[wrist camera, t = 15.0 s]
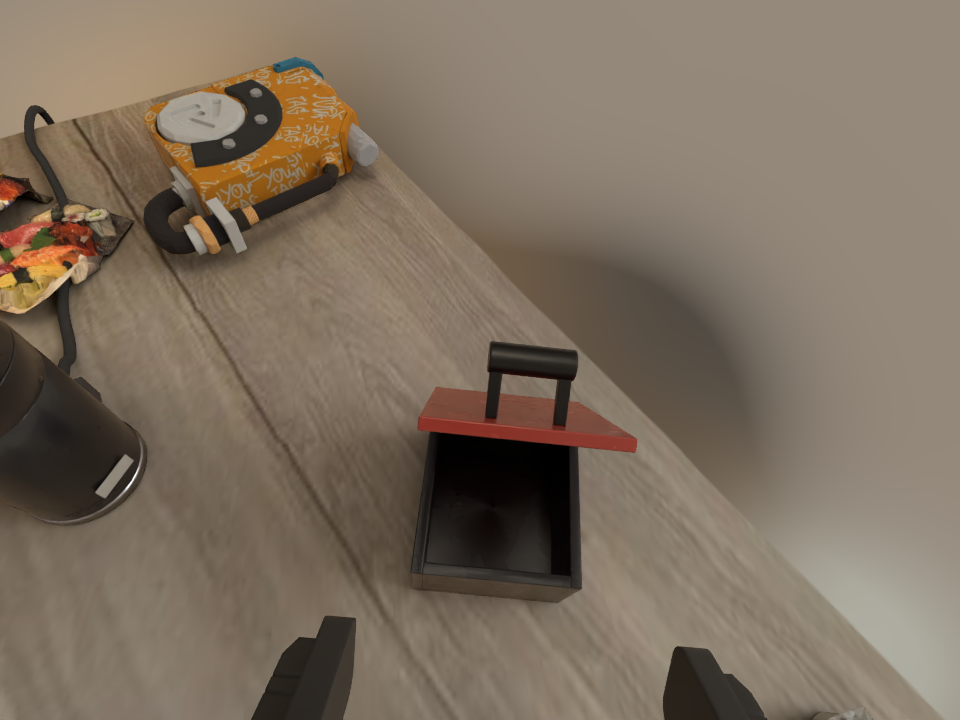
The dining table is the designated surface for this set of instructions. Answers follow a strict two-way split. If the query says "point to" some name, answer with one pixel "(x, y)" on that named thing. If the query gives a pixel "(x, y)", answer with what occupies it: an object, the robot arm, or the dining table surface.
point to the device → (249, 153)
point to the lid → (524, 405)
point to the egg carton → (845, 715)
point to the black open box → (498, 519)
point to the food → (51, 246)
